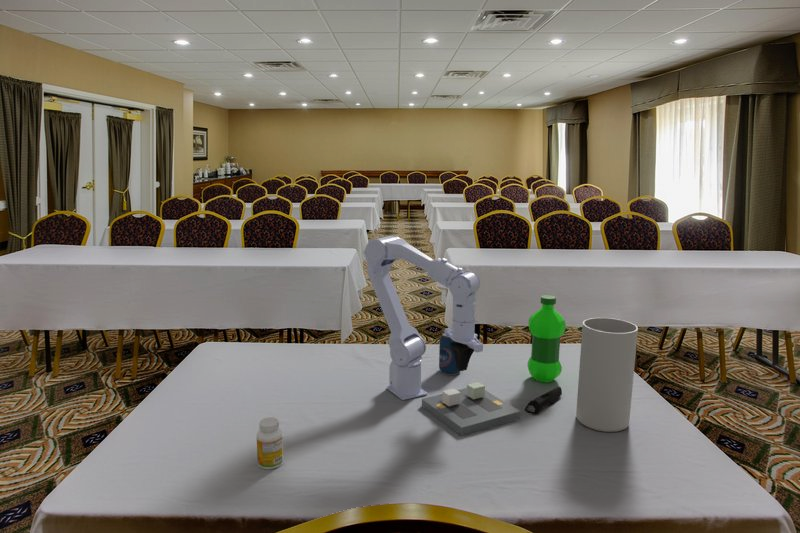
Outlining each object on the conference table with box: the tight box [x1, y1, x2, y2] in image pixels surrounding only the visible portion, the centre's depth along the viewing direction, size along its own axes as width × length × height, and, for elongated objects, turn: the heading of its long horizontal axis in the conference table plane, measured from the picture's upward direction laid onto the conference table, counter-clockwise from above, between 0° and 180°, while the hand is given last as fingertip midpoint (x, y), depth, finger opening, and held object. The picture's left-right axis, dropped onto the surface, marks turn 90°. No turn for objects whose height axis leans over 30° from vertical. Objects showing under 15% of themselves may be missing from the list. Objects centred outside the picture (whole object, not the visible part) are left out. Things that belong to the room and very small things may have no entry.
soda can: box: [438, 331, 461, 376], centre depth 172 cm, size 7×7×12 cm
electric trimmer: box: [524, 386, 563, 416], centre depth 151 cm, size 4×16×3 cm, turn 137°
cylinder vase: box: [575, 317, 639, 433], centre depth 139 cm, size 12×12×25 cm
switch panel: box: [421, 387, 521, 436], centre depth 146 cm, size 18×18×2 cm
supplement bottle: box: [256, 417, 284, 470], centre depth 121 cm, size 5×5×10 cm
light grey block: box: [441, 387, 461, 406], centre depth 146 cm, size 3×4×3 cm
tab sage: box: [466, 381, 486, 399], centre depth 150 cm, size 3×4×3 cm
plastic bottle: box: [527, 294, 567, 383], centre depth 165 cm, size 10×10×25 cm
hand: (461, 369), depth 147 cm, fingers closed
